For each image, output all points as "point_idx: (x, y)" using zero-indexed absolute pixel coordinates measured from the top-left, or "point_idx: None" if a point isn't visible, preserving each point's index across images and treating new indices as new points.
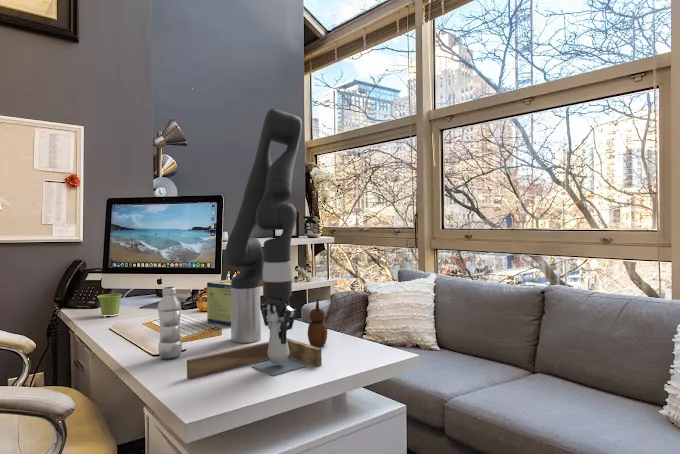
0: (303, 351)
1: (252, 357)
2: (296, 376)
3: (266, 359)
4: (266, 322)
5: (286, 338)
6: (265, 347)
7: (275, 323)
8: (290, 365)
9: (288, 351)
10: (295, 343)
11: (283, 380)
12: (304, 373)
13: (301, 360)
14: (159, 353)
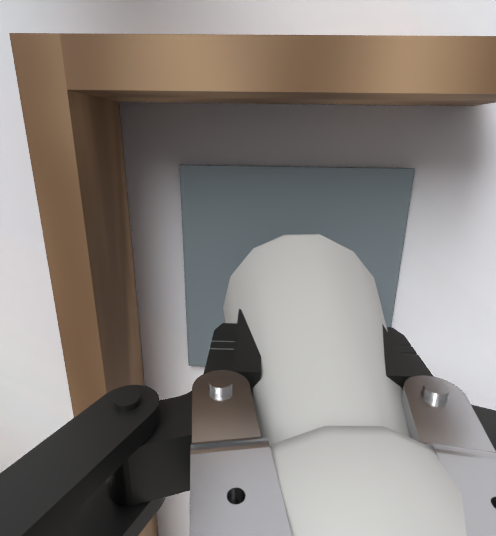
0: (341, 97)
1: (128, 347)
2: (480, 297)
3: (130, 247)
4: (152, 513)
5: (415, 351)
6: (102, 278)
7: None
8: (335, 223)
9: (369, 275)
10: (234, 92)
11: (465, 368)
12: (484, 240)
13: (305, 103)
14: None
